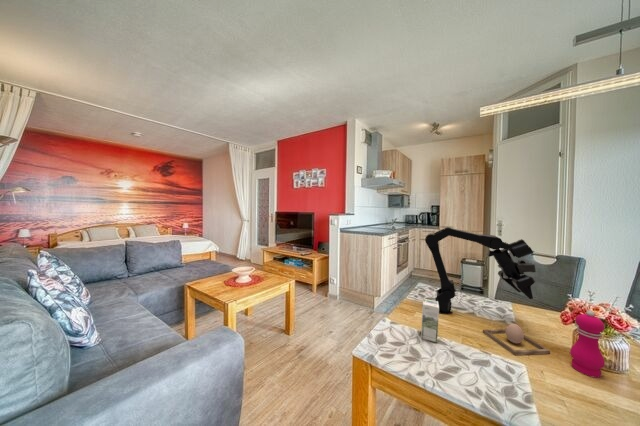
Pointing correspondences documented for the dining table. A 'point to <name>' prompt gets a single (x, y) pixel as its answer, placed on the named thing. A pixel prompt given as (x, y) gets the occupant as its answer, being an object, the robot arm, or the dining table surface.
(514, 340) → the egg
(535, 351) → the walnut frame
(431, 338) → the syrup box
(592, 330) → the pepper mill
